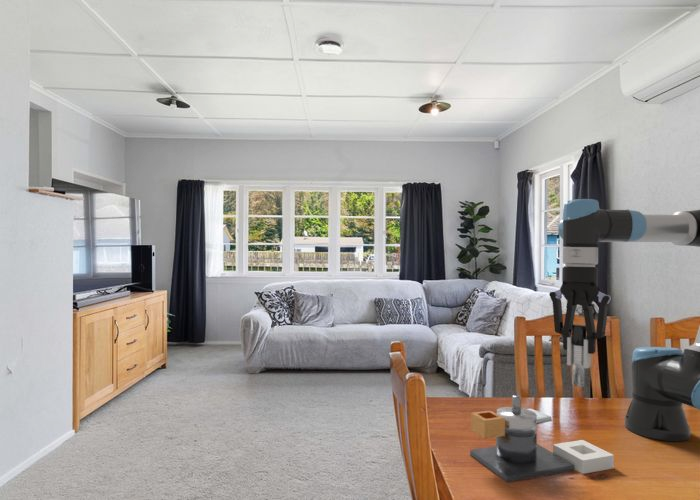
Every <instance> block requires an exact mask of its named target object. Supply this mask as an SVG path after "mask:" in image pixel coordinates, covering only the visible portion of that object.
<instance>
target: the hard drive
mask: <svg viewBox="0 0 700 500" xmlns="http://www.w3.org/2000/svg"><path fill="white" fill-rule="evenodd" d="M527 409H528V410H530V411H533V412H534V413H536V415H537V424H538V423H542V422H548V421H551V420H552V416H551V415H549V414H546V413H543V412H541V411H540V410H539V411H538V410H536V409H533V408H527Z"/></svg>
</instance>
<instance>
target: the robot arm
mask: <svg viewBox="0 0 700 500" xmlns="http://www.w3.org/2000/svg"><path fill="white" fill-rule="evenodd" d="M599 204H600V203H599V201H598V200H597V199H593V198H578V199H570V200H566V201H565V202H564V204H563V209H562V218H561V220H559V224H558V226H557V227H558V228H557V229H558V234H559V237H560V238H561V239H562V264H563V267H562V269H561V274H562V275H561V281H562V284H561V286H560V288H559V289H558V290H555V291H550V292H549V297H550V299H551V301H552V302H551V303H552V313H553V315H552V316H553V323H554V324H553V325H554V331H555V333H556V334H559V335H561V336H562V348H563V350H564V351H566V365H567V366H573V344H572V325H573V324H574V321H575V314H576V310H577V307H578V306H581V309H582V312H583V318H584V325H586V339H584V365H583V368H585V369H589V368H590V367H592V355H594V354H595V353H596V342H597V341H596V340H597V339H601V338H604V337H605V336H606V329H607V318H608V309H609V305H610V303H611V301H612V300H613V296H612V295H611V294H608V295H607V294H606V293H603V292H601V289H600V287H599V268H598V266H596V265H598V264H599V243H629V242H630V243H672V244H674V245H676V246H686V247H687V246H689V247H696V248H697V247H698V248H700V209H693V210H680V211H676V212H674V213H673V214H643V213H642V212H640V211H639V210H632V209H602V208H600V205H599ZM564 264H565V266H564ZM562 296H563V297H564V298H565V300H566V305H565V306H566V310H565V317H564V318H563V306H562ZM597 298H598V303H599V305H598V312H597V323H596V325H595V318H594V317H595V316H594V311H593V308H594V307H593V303H594V301H595V300H596V299H597ZM563 319H564V320H563ZM631 388H632V389H631V391H632V392H631V402H630V404H629V406H628V409H627V411H626V414H625V416H624V427H625V428H626V429H628V430H629V431H630V432H632V433H634V434H635V435H636V434H637V435H640V436H643V437H645V438H648V439H649V438H650V439H653V440H657V441H658V440H660V441H664V442H665V441H666V442H685V441H688V440H690V439H691V427H690V426H689V423H688V419H687V416H686V413H685V411H684V407H683V405H687V406H689V407H692V408H694V409H696V410H698V411H700V325H699V327H698V330H697V332H696V336H695V339H694V342H693V344H690V345H689V346H686V347H685V348H684V349H683V350H682V349H681V348H677V347H665V346H662V347H661V346H641V347H636V348H635V349H634V350H633V351H632V360H631Z"/></svg>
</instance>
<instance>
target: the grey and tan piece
mask: <svg viewBox="0 0 700 500" xmlns="http://www.w3.org/2000/svg"><path fill="white" fill-rule="evenodd" d="M528 409H529V408H524V407H523V408H522V396H521V395H518V394H512V396H511V406H503V407H499V408H497V409H496V412H494V411H492V410H484V411H476V412H474V411H473V412H471V413H470V430H471V431H472V432H473V433H475V434H477V435H478V436H480V437H481V438H483V439H491V438H492V439H493V438H496V437H499V436H505V433H506V434H509V435H514V436H532V435H534V434H536V433H537V434H538V432H537V431H538V430H537V429H538V428H537V427H538V423H537V415H536V413H534V412H533V411H530V410H528Z"/></svg>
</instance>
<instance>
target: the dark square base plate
mask: <svg viewBox="0 0 700 500" xmlns="http://www.w3.org/2000/svg"><path fill="white" fill-rule="evenodd" d="M537 434H538V432H537V433H536V434H534V435H532V436H514V435H509V434H506V433H505V436H499V437H495V438H496V442H495V443H496V445H494V446H488V447H482V448H473V449H470V450H469V451H470V452H469V454H470V455H469V456H471V457H473V458H474V459H475V460H476V461H477V462H479V463H480V464H482V465H483V466H484V467H486V468H487V469H489V470H490V471H491V472H492V473H494V474H495V475H497V476H498V477H500V478H501V480H502V481H503V480H504V481H505V483H511V482H517V481H522V480H523V481H524V480H528V479H532V478H539V477H545V476H550V475H554V474H560V473H565V472H566V473H567V472H571V471H572V472H573V471H575V469H574V465H573V464H572V463H570V462H568V461H566V460H564V459H563V458H561V457H559V456H557V455H556V454H554V453H553V451H551V450H549V449H547V448H545V447H543V446H541V445H540V444H538V442H537V439H538V438H537V437H538V435H537Z"/></svg>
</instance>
